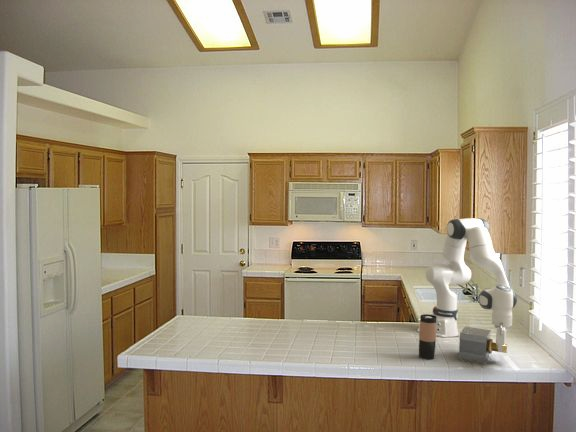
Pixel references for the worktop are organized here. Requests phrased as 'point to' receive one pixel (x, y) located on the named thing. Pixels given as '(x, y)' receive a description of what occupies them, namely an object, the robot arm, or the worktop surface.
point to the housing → (474, 345)
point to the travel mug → (427, 336)
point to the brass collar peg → (495, 347)
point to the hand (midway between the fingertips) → (500, 349)
